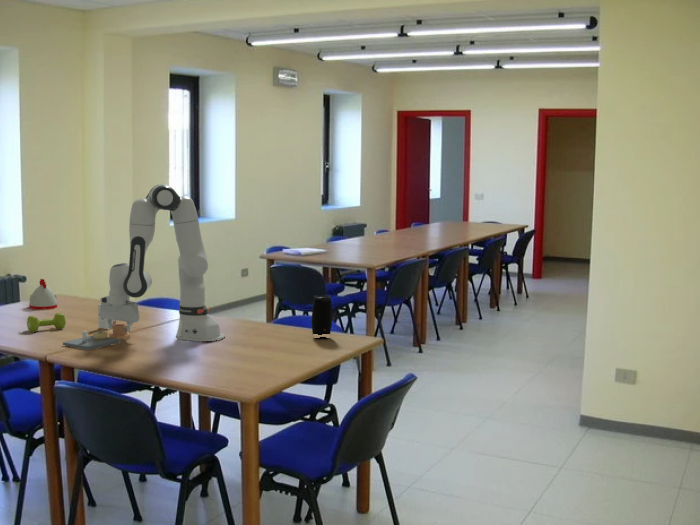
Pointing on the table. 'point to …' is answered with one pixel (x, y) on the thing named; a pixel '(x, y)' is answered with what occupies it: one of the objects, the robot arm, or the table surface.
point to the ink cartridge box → (103, 320)
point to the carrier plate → (92, 341)
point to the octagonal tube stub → (119, 332)
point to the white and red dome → (43, 297)
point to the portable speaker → (322, 315)
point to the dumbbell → (46, 322)
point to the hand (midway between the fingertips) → (119, 330)
